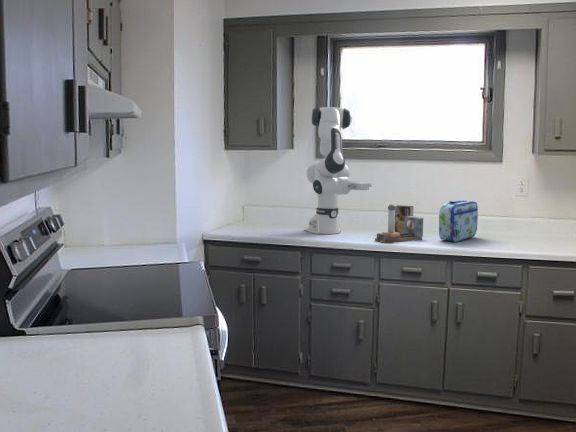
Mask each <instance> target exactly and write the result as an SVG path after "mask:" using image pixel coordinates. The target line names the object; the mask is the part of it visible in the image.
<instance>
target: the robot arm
mask: <svg viewBox="0 0 576 432" xmlns="http://www.w3.org/2000/svg"><path fill="white" fill-rule="evenodd" d="M310 121H311V124H312V125H313V126H314V127H317V128H318V129H317V130H318V134H317V135H318V137H319V139H320V142H319V143H320V145H319V152H320V154H321V155H322V156H323V157H324V158H323V159H322V160H320V161H319V162H318V163H314V164H311V165H309V166H308V167H307V169H306V173H305V174H306V179H307V180H308V182H309V183H311V184H312V189H313V192H315V194H317V208H315V207H314V208H315V214H314V215H313V216H312V217H311V218H310V219H309V221H308V226H307V227H305V228H304V231H306V232H308V233H312V234H319V235H321V234H324V235H329V234H330V235H334V234H340V233H341V232H342V229H341V227H340V226H341V224H340V222H341V221H340V217H339V207H338V206H339V205H338V202H339V201H338V197H339V195H348V194H349V193H350V192H351V191H368V190H369V189H370V188H371V187H372V183H369V182H367V181H356V180H350V175H351V173H350V171H351V170H350V168H349V167H348V165H347V164H346V161H345V156H344V150H343V146H344V145H343V135H342V131H341V129H342V130H345V129H347V128H349V127H350V125H351V123H352V122H353V114H352V111H351V110H350V109H348V108H346V107H345V108H342V107H336V106H332V107H329V106H328V107H327V106H326V107H325V106H324V107H320V106H317V107H314V108H313V109H312V112H311V113H310Z"/></svg>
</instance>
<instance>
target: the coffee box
mask: <svg viewBox="0 0 576 432" xmlns="http://www.w3.org/2000/svg"><path fill="white" fill-rule="evenodd" d="M394 206H395V218H394V232H397V233H400V234H404V225H405V216H414V206H413V205H403V204H397V205H394Z"/></svg>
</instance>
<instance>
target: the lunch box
mask: <svg viewBox="0 0 576 432" xmlns="http://www.w3.org/2000/svg"><path fill="white" fill-rule="evenodd" d="M478 207H479V205H478V203H477V202H476V201H472V200H471V201H470V200H455V201H451V200H449V201H448V202H445V203H443V204H441V206H440V207H439V216H438V219H439V220H438V224H439V226H438V229H439V230H438V231H439V234H438V235H439V239H440V240H445V241H449V242H450V241H451V242H453V243H458V242H460V241H463V240H467V239H470V238H473V237H475V236H476V234H477V231H478V219H479V217H478V216H479V214H478V212H479V211H478V210H479V209H478Z"/></svg>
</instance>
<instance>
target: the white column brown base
mask: <svg viewBox="0 0 576 432" xmlns="http://www.w3.org/2000/svg"><path fill="white" fill-rule="evenodd" d="M395 206H396V205H395V204H393V203H391V204H389V205H388V207H387V210H388V211H387V213H388V216H387V217H388V219H387V231H382V232H381V233H382V234H387V235H389V237H396V236H400V233H397V232H395Z"/></svg>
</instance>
